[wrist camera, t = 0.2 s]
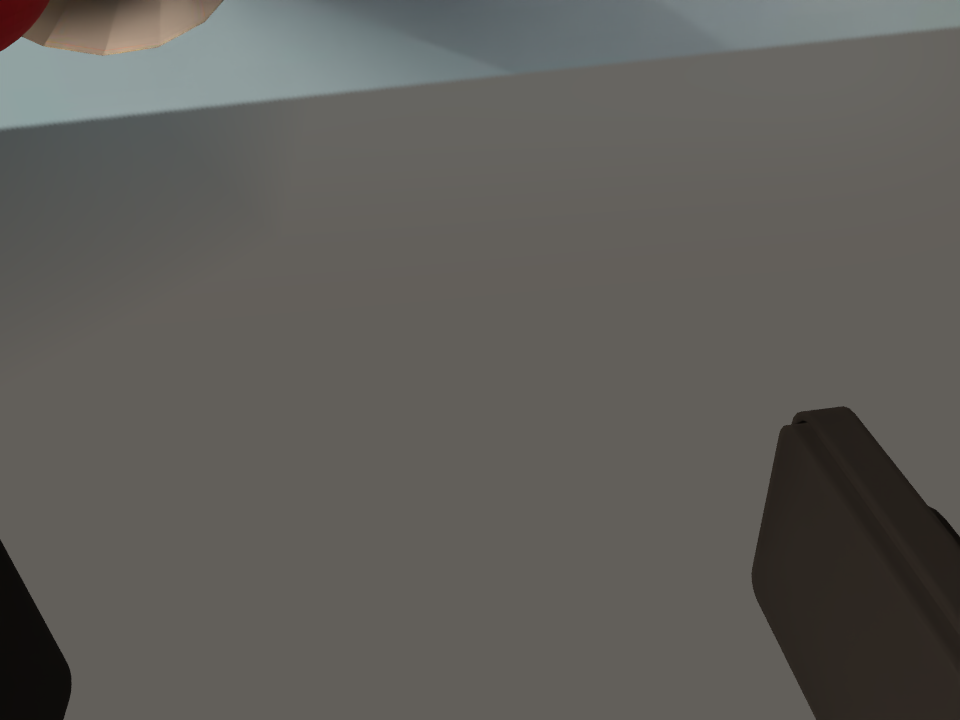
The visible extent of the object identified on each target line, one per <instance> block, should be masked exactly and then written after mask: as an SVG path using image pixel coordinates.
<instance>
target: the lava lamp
mask: <svg viewBox="0 0 960 720" xmlns="http://www.w3.org/2000/svg"><path fill="white" fill-rule="evenodd" d="M222 1H223V0H0V51H2V50H4V49H5V48H7V47H8V46H10V45H11V44H12V43H14V42H15V41H16V40H18V39H19V38H20V37H21V36H22V37H24V38H26V39H29V40H31V41H33V42H35V43H37V44H40V45H42V46H46V47H52V48H58V49H65V50H71V51H77V52H84V53H90V54H96V55H102V56H103V55H110V54H116V53H123V52H129V51H136V50H143V49H149V48H156V47H159V46H161V45H163V44H165V43H167V42H168V41H170V40H172V39H174V38H176V37H178V36H179V35H181V34H183V33H185V32H187V31H189V30H191V29H192V28H194V27H196V26H198V25H200V24H202V23H203V22H205V21H206V20H207V19H208V18H209V16H210V15H211V14H212V13H213V12H214V11H215V9H216V8H217V7H218V6H219V5H220V4H221V2H222Z"/></svg>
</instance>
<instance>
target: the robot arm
mask: <svg viewBox="0 0 960 720" xmlns="http://www.w3.org/2000/svg"><path fill="white" fill-rule="evenodd" d="M752 584H753V589H754V593H755V596H756V599H757V601H758V603H759V605H760V607H761V609H762V611H763V613H764V615H765V617H766V619H767V621H768V623H769V625H770V627H771V629H772V631H773V633H774V635H775V637H776V639H777V641H778V643H779V645H780V647H781V649H782V651H783V653H784V655H785V658H786V660H787V662H788V663H789V666H790V668H791V670H792V672H793V674H794V675H795V678H796V680H797V682H798V684H799V686H800V688H801V690H802V692H803V694H804V696H805V698H806V700H807V702H808V704H809V706H810V708H811V710H812V712H813V714H814V716H815V718H816V720H960V537H959V535H958V534H957V533H956V532H955V530H954V529H953V528H952V527H951V525H950V524H949V523H948V522H947V520H946V519H945V518H944V517H943V516H942V515H940V513H939V512H937V510H935V509H933V508H931V507H929V506H928V505H927V504H926V503H925V502H924V500H923V499H922V498H921V497H920V495H919V494H918V493H917V491H916V490H915V489H914V488H913V486H912V485H911V484H910V483H909V481H908V480H907V479H906V478H905V476H904V475H903V474H902V473H901V471H900V470H899V469H898V468H897V466H896V465H895V464H894V462H893V461H892V460H891V459H890V457H889V456H888V455H887V454H886V452H885V451H884V450H883V449H882V447H881V446H880V445H879V444H878V442H877V441H876V440H875V438H874V437H873V436H872V435H871V433H870V432H869V431H868V430H867V428H866V427H865V426H864V425H863V423H862V422H861V421H860V420H859V418H858V417H857V416H856V414H855V413H853V412H852V411H851V410H850V409H849V408H847V407H844V406H843V407H835V408H827V409H819V410H811V411H803V412H799V413H797V414H796V415H795V416H794V418H793V421H792V424H791V425H786V426H783V428H782V429H781V431H780V434H779V438H778V443H777V448H776V453H775V458H774V463H773V468H772V473H771V478H770V483H769V488H768V493H767V498H766V503H765V508H764V513H763V518H762V523H761V528H760V533H759V538H758V543H757V548H756V553H755V557H754V562H753V567H752ZM70 694H71V673H70V669H69V666H68V664H67V662H66V660H65V658H64V656H63V654H62V653H61V651H60V649H59V647H58V646H57V643H56V641H55V640H54V638H53V636H52V634H51V632H50V631H49V629H48V627H47V625H46V623H45V621H44V619H43V618H42V616H41V614H40V612H39V610H38V609H37V606H36V605H35V603H34V601H33V599H32V597H31V595H30V594H29V592H28V590H27V588H26V586H25V584H24V583H23V581H22V579H21V577H20V575H19V573H18V571H17V570H16V568H15V566H14V564H13V562H12V560H11V558H10V557H9V555H8V553H7V551H6V549H5V547H4V546H3V544H2V542H1V540H0V720H63V719H64V715H65V712H66V709H67V706H68V702H69V698H70Z"/></svg>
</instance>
